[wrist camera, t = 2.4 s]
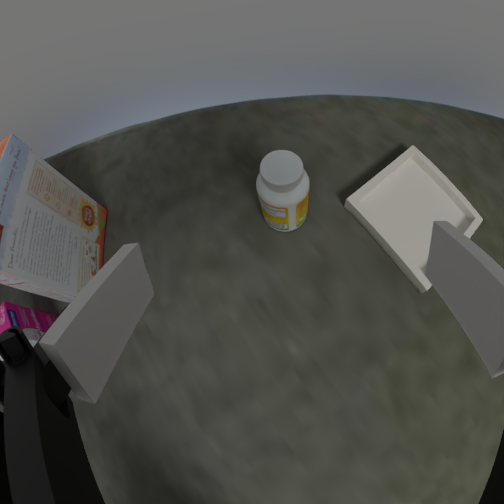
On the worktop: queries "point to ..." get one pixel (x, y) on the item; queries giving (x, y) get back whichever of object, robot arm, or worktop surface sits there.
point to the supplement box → (25, 321)
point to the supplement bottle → (283, 190)
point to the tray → (410, 211)
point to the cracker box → (46, 227)
